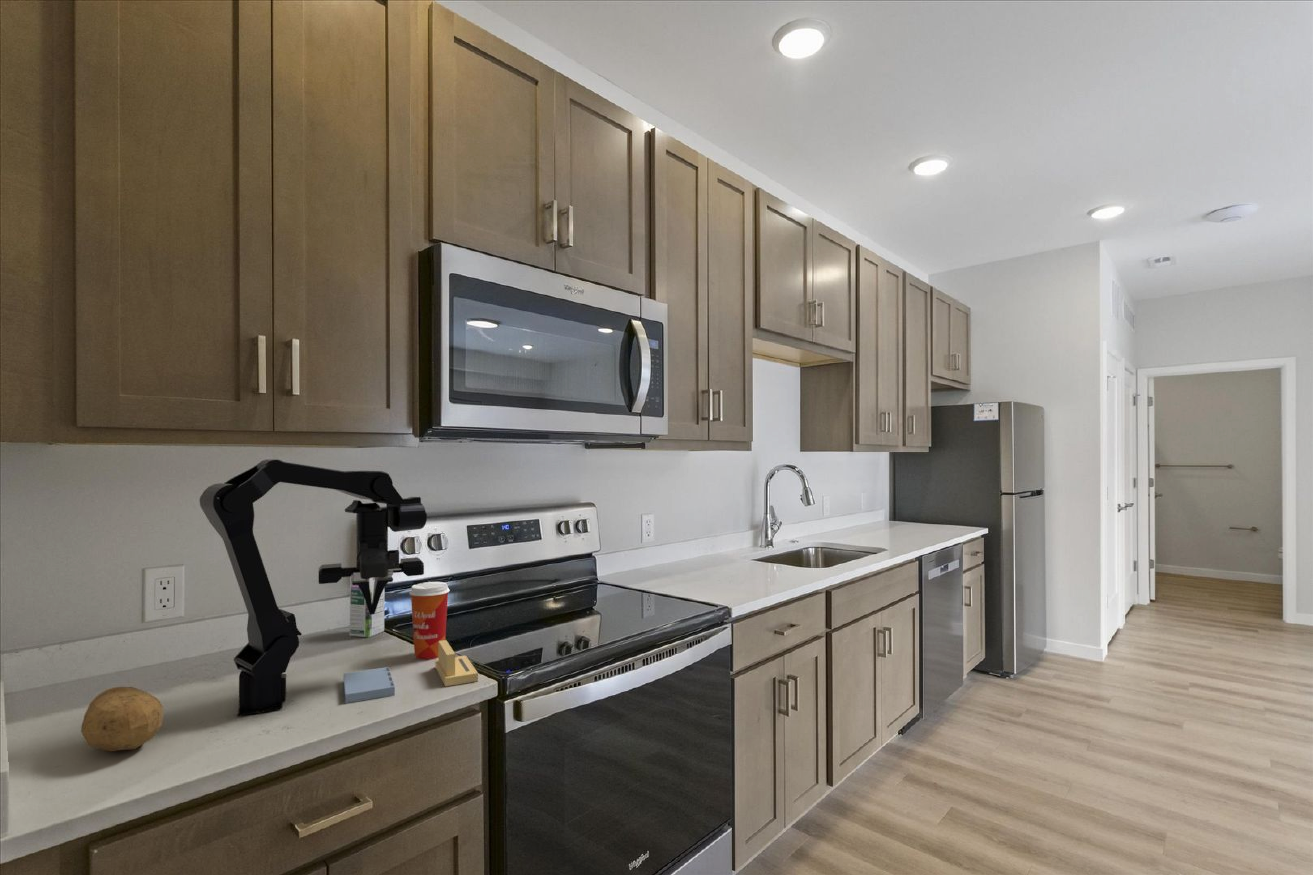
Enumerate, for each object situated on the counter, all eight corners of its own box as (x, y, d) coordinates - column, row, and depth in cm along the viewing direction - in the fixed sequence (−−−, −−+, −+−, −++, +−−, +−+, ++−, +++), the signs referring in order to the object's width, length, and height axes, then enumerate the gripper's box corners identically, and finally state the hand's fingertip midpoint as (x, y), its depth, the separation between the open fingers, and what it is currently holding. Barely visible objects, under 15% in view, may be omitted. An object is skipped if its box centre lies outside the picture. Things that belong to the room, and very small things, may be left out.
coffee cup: (400, 657, 139) (400, 586, 139) (430, 647, 146) (430, 579, 146) (429, 663, 135) (429, 590, 135) (458, 652, 142) (458, 583, 142)
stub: (445, 686, 121) (445, 656, 122) (435, 667, 132) (435, 639, 132) (478, 680, 124) (478, 651, 124) (465, 662, 135) (465, 635, 135)
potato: (91, 774, 89) (91, 716, 89) (71, 745, 98) (72, 691, 98) (177, 749, 97) (177, 695, 97) (151, 723, 106) (152, 674, 106)
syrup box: (348, 636, 154) (348, 575, 155) (365, 629, 160) (365, 570, 160) (368, 638, 153) (368, 576, 153) (385, 631, 159) (385, 571, 159)
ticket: (345, 703, 114) (345, 693, 114) (343, 681, 124) (343, 672, 124) (394, 695, 117) (394, 685, 117) (388, 674, 128) (388, 666, 128)
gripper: (318, 543, 117) (318, 630, 116) (427, 536, 125) (427, 617, 125) (318, 535, 127) (318, 616, 126) (420, 529, 135) (420, 605, 135)
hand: (372, 614), depth 128 cm, fingers closed
